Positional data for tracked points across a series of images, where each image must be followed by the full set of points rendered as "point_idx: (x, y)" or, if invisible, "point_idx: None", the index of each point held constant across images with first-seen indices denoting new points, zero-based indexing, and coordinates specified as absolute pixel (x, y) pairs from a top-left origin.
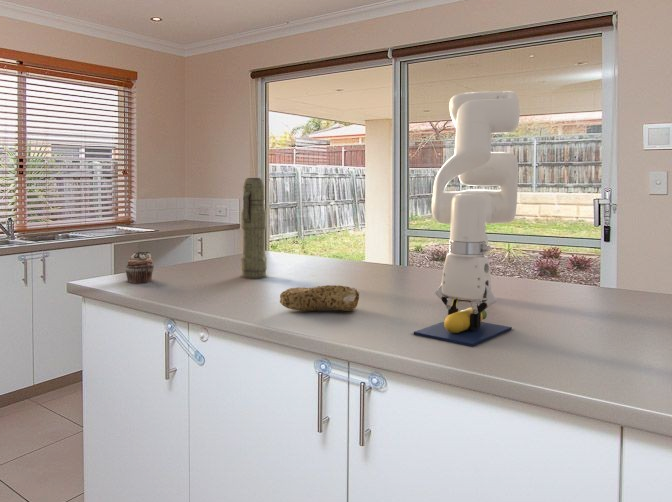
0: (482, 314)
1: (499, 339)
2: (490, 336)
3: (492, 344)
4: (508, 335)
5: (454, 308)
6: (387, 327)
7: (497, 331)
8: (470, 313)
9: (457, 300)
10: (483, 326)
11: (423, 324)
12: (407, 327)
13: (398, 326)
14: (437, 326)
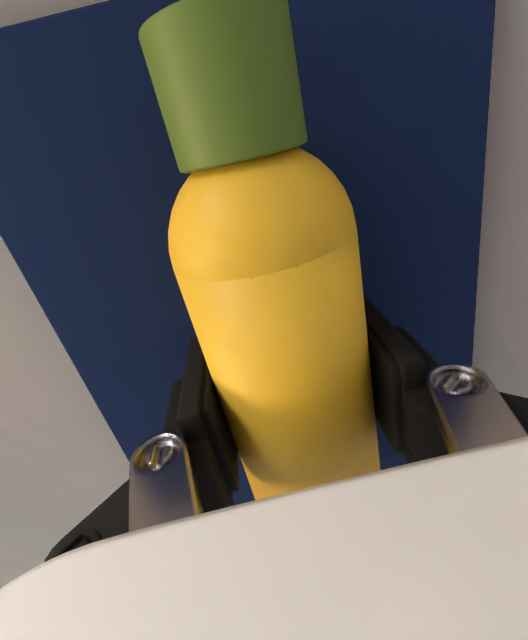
0: (305, 129)
1: (507, 291)
2: (473, 332)
3: (510, 390)
4: (521, 153)
5: (219, 475)
6: (15, 562)
7: (463, 198)
8: (359, 408)
9: (199, 506)
10: (315, 156)
11: (10, 404)
12: (49, 502)
13: (12, 522)
14: (145, 421)
